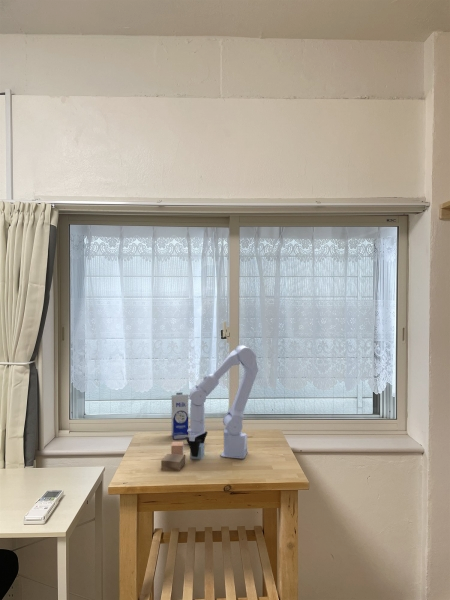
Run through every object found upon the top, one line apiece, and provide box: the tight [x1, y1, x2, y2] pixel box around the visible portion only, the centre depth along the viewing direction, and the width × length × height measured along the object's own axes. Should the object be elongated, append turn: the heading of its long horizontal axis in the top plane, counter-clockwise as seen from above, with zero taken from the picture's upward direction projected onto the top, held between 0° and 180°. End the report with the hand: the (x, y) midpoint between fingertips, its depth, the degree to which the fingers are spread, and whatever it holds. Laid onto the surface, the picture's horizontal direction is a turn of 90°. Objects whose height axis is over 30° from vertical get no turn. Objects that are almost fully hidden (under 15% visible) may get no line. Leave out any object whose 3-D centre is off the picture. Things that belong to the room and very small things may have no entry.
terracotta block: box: [170, 441, 185, 455], centre depth 172 cm, size 4×4×5 cm
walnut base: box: [160, 453, 186, 472], centre depth 161 cm, size 7×7×4 cm
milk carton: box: [170, 392, 190, 440], centre depth 195 cm, size 7×7×20 cm
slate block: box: [189, 442, 205, 461], centre depth 171 cm, size 4×4×5 cm
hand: (197, 453), depth 171 cm, fingers open, 6 cm apart
